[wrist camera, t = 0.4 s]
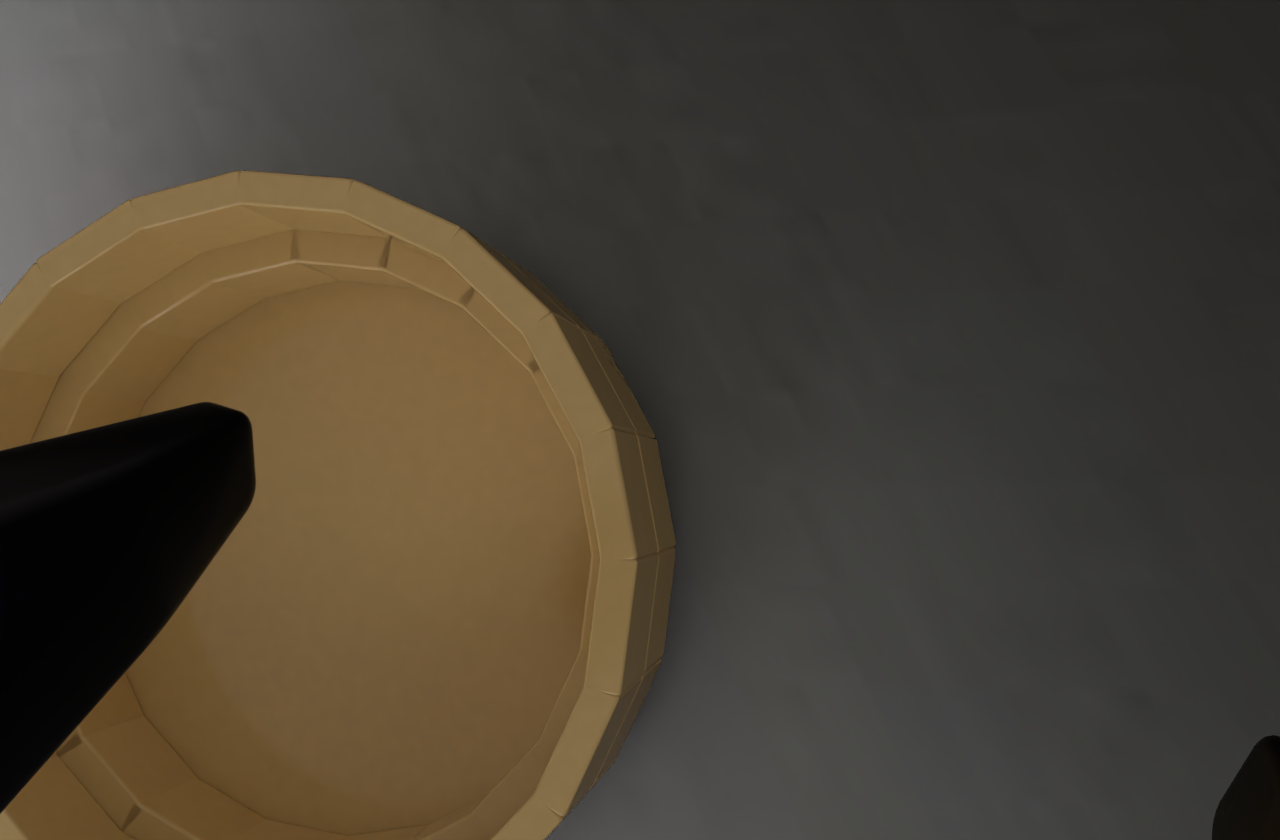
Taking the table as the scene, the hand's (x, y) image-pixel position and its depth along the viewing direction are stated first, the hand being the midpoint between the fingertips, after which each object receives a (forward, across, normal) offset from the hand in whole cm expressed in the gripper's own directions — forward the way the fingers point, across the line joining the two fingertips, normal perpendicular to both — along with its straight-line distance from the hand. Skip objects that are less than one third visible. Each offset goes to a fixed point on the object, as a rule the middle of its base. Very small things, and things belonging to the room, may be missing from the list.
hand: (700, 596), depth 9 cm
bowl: (+11, +10, +11) cm, 18 cm away
